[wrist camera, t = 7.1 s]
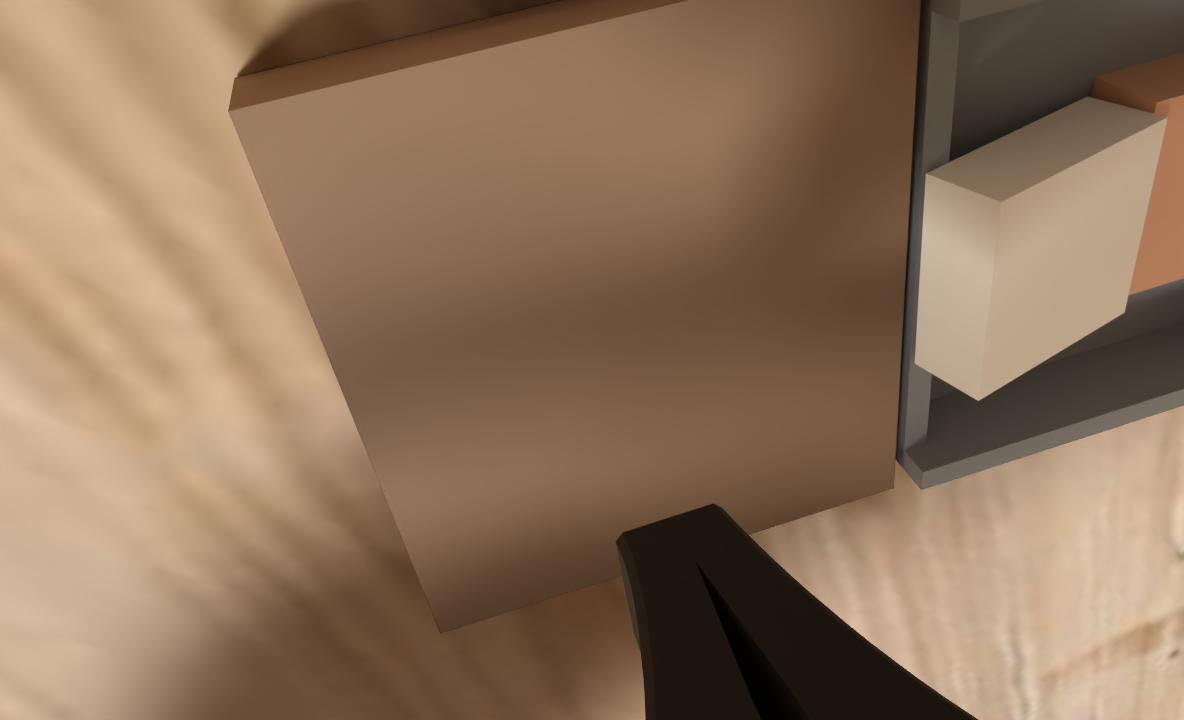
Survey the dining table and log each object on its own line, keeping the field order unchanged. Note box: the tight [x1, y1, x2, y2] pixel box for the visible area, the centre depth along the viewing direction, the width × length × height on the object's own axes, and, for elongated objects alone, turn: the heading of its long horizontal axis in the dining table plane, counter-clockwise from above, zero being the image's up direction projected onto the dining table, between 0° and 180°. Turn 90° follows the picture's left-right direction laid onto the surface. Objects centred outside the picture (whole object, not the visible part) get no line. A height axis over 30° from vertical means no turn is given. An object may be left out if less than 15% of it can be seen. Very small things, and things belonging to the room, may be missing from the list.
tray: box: [895, 0, 1184, 490], centre depth 17 cm, size 10×9×2 cm
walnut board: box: [228, 0, 921, 633], centre depth 16 cm, size 11×10×2 cm
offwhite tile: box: [915, 96, 1168, 401], centre depth 16 cm, size 4×4×2 cm
